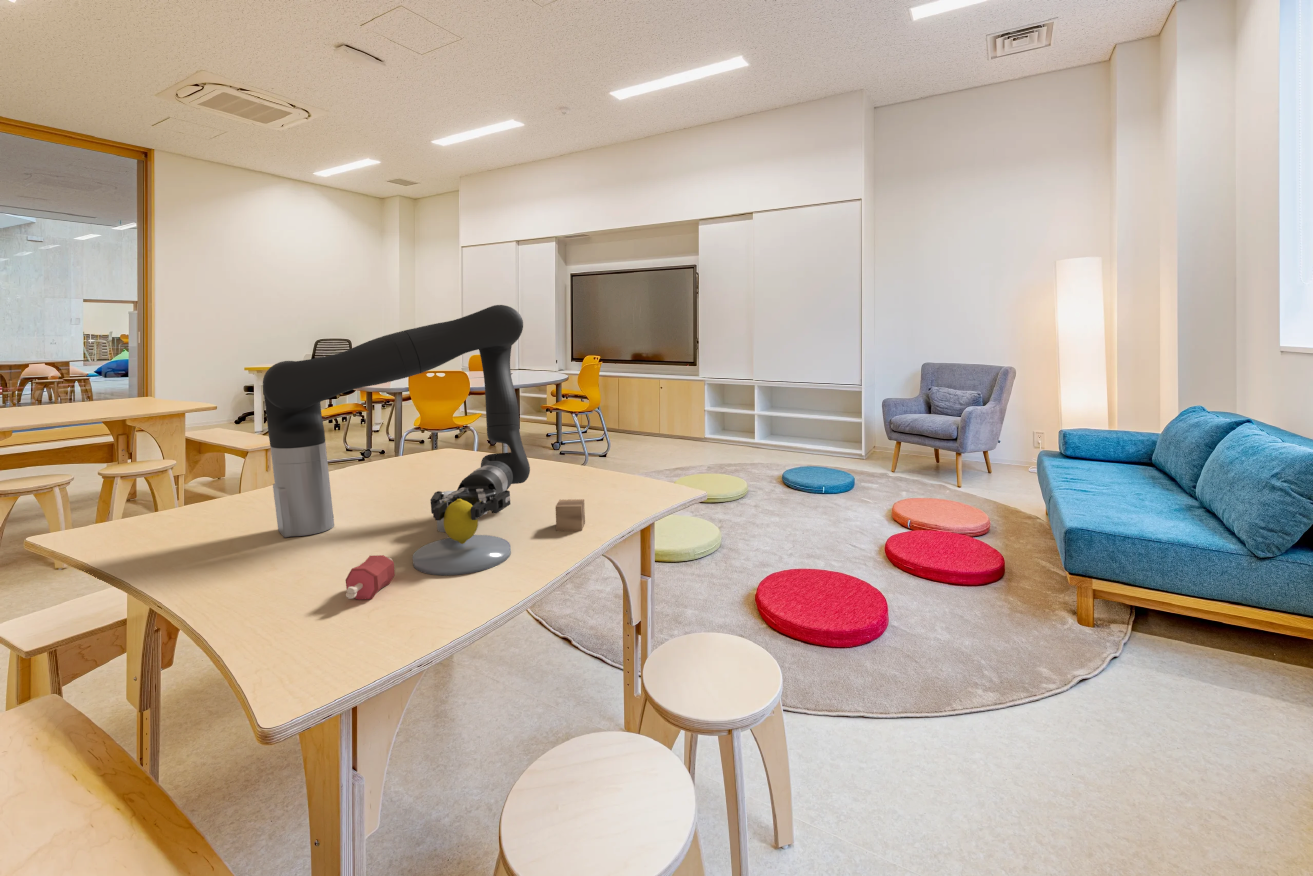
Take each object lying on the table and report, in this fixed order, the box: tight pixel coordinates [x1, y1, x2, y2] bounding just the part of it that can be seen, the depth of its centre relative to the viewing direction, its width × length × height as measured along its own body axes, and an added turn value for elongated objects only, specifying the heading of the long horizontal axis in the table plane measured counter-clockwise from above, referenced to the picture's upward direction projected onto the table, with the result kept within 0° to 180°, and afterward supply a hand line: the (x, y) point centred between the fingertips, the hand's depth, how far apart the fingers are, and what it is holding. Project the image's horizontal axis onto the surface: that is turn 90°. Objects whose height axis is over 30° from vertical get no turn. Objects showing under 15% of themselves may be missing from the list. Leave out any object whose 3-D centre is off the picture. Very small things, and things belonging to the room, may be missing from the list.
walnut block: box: [555, 498, 586, 532], centre depth 117 cm, size 5×5×5 cm
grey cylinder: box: [436, 490, 455, 533], centre depth 117 cm, size 5×5×7 cm
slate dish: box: [412, 534, 512, 576], centre depth 102 cm, size 16×16×1 cm
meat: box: [345, 554, 396, 600], centre depth 88 cm, size 12×5×5 cm, turn 178°
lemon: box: [444, 499, 479, 544], centre depth 101 cm, size 6×6×8 cm
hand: (455, 514), depth 98 cm, fingers closed on lemon, 5 cm apart
